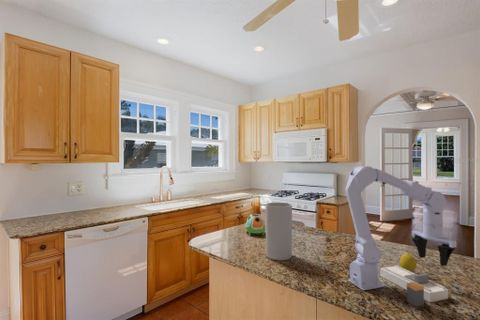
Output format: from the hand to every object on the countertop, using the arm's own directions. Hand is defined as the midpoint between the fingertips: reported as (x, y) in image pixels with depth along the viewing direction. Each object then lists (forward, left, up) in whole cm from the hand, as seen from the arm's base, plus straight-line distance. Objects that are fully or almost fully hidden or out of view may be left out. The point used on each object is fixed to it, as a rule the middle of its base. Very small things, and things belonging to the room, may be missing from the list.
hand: (432, 261), depth 93 cm
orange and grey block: (-15, -6, -10) cm, 19 cm away
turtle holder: (-38, +85, -10) cm, 94 cm away
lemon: (+3, +12, -10) cm, 16 cm away
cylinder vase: (-40, +44, -10) cm, 61 cm away
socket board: (-6, +3, -10) cm, 12 cm away
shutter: (-6, +1, -6) cm, 9 cm away
